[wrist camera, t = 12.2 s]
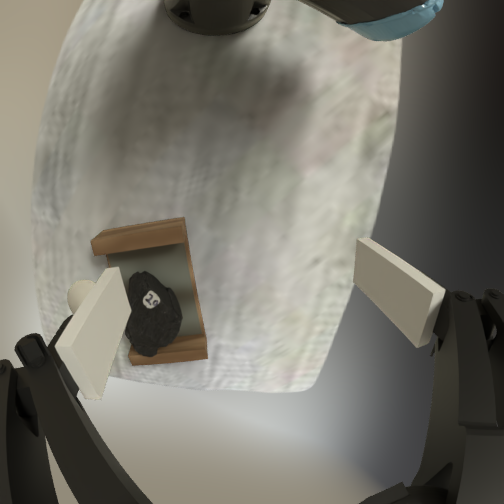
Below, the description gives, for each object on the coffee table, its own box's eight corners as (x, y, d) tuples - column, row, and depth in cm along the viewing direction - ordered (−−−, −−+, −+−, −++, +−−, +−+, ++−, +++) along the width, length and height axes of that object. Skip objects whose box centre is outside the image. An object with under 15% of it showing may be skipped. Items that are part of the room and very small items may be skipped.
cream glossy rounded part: (62, 283, 36) (60, 285, 36) (102, 275, 37) (100, 277, 36) (80, 324, 39) (78, 327, 38) (119, 319, 40) (118, 322, 39)
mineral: (105, 297, 36) (94, 318, 31) (145, 260, 36) (136, 278, 30) (153, 340, 40) (148, 364, 35) (193, 309, 40) (193, 332, 34)
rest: (103, 230, 35) (90, 240, 30) (184, 217, 36) (181, 226, 32) (137, 345, 42) (132, 365, 37) (206, 338, 43) (207, 358, 38)
